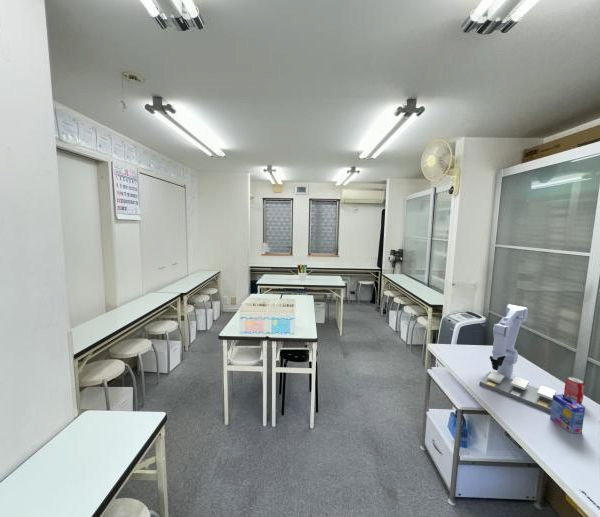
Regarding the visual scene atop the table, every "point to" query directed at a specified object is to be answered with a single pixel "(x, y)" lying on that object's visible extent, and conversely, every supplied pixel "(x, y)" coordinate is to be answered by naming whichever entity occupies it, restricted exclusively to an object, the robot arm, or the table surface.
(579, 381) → the soda can
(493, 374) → the switch
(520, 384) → the switch
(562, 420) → the ink cartridge box
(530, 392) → the switch panel
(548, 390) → the switch
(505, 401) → the table surface
